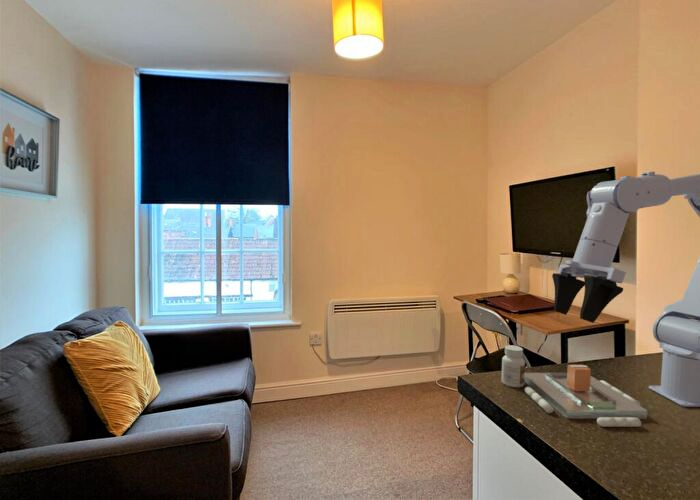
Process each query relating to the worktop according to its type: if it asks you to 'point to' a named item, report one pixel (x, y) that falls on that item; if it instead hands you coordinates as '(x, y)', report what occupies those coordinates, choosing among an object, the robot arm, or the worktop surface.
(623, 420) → the rod
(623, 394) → the cable near base
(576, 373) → the lever
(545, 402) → the rod
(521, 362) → the pill bottle
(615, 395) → the breaker panel
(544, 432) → the worktop surface
